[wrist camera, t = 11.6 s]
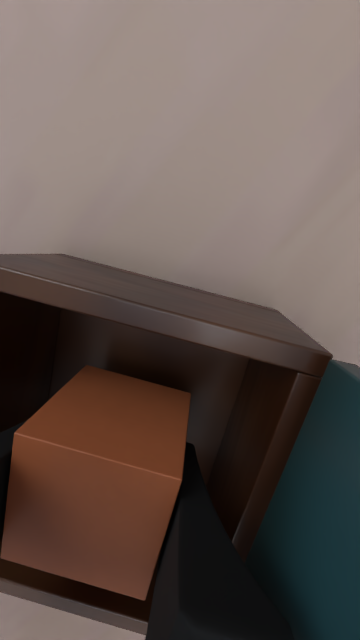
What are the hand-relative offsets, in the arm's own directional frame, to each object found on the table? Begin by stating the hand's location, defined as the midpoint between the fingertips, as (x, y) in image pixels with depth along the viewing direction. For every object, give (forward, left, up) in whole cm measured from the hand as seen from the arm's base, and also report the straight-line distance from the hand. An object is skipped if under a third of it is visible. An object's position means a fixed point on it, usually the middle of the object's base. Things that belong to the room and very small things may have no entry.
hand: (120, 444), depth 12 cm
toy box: (0, 0, -4) cm, 4 cm away
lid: (+6, 0, +9) cm, 11 cm away
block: (0, 0, -1) cm, 1 cm away
